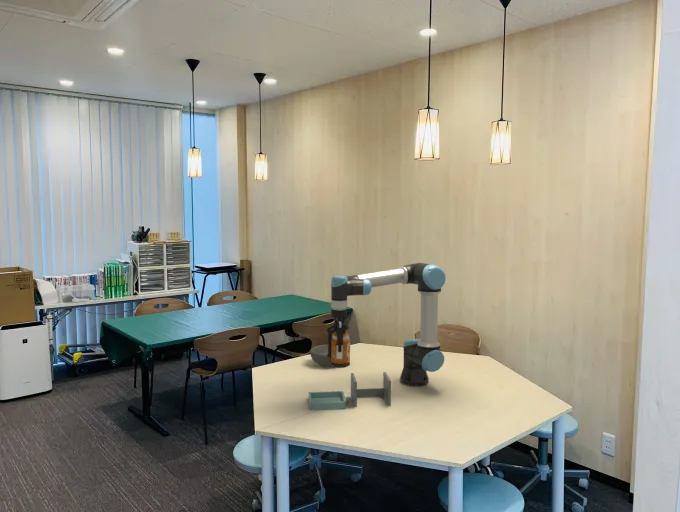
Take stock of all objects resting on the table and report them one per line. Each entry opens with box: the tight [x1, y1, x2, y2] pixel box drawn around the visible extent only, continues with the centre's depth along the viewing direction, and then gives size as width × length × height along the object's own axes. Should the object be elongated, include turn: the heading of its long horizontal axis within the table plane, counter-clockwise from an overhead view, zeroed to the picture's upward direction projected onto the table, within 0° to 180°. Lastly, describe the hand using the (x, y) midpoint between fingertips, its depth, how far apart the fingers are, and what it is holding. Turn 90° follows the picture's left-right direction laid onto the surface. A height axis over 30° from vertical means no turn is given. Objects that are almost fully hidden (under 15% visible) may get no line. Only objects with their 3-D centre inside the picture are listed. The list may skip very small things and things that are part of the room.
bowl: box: [309, 344, 333, 367], centre depth 316 cm, size 23×22×10 cm
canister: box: [326, 324, 351, 369], centre depth 251 cm, size 9×11×20 cm
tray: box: [308, 390, 348, 411], centre depth 253 cm, size 17×15×3 cm
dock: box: [350, 371, 392, 408], centre depth 256 cm, size 17×14×12 cm
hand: (338, 355), depth 252 cm, fingers closed on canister, 9 cm apart
